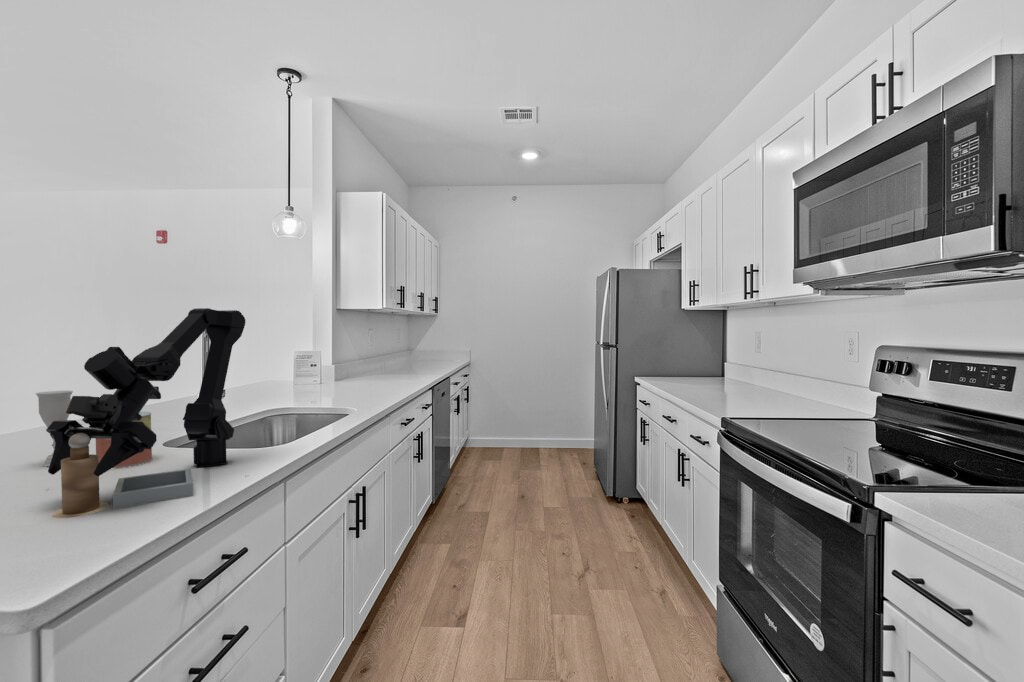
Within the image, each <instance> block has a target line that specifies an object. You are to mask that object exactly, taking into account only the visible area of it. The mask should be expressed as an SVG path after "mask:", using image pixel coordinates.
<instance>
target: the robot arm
mask: <svg viewBox="0 0 1024 682" xmlns="http://www.w3.org/2000/svg"><path fill="white" fill-rule="evenodd" d="M245 326H246V318H245V316H244V314H242V311H240V310H235V309H234V310H229V309H228V310H217V309H212V308H207V307H205V308H201V307H199V308H193V309H191V310H189V311H188V313H187V316H186V317H185V318H184V319H183V320H182V321H181V322H179V323H178V324H177V325H176V326H175V328H174V329H173V330H171V332H169V334H168V335H166V337H165V338H164V339H163V340H162V341H161V342H159V343H158V344H156V345H154V346H151V347H149V348H147V349H145V350H143V351H141V352H140V353H139V354H137V355H135V356H134V357H133V358H132V360H131V359H130V358H129V356H127V355H126V354H125V352H124V351H123V349H122V348H121V347H120V346H108V347H107V349H106V350H104V351H101V352H98V353H97V354H95V355H93V356H91V357H89V358H88V359H87V360H86V362H85V363H84V365H83V366H84V370H85V371H86V372H87V373H88V374H89V375H90V376H91V377H93V379H95V381H97V382H98V383H99V384H100V385H101V386H102V387H104V389H106V390H109V391H113V390H115V391H114V393H103V394H102V395H101V396H91V395H72V396H71V401H70V404H69V406H68V408H67V411H66V413H68V414H69V415H76V416H79V417H82V419H81V421H82V422H84V423H85V424H88V427H84V426H83V425H82V424H81V423H79V422H78V421H77V420H75V419H74V420H73V419H67V420H57V421H53V422H52V423H51V425H50V426H49V427H48V428H45V429H46V430H45V431H46V432H47V433H48V434H49V436H50V437H51V439H52V438H54V440H55V450H54V449H53V451H54V453H53V452H52V453H53V457H52V460H51V463H50V466H49V467H48V470H47V472H48V474H50V475H56V474H57V473H58V472H59V471H61V460H62V459H65V458H68V457H70V448H71V447H70V446H69V439H70V437H71V436H73V435H74V434H77V433H85V434H87V435H88V436H89V437H90V441H92V439H96V438H99V439H111V445H110V447H109V448H108V450H107V451H106V453H105V455H104V456H103V458H102V459H101V461H100V462H99V464H98V465H97V467H96V469H95V471H94V475H96V476H99V477H100V476H101V475H103V474H105V473H107V472H108V471H110V470H112V469H111V468H113V467H115V466H116V465H118V464H120V463H121V462H123V461H125V460H126V459H128V458H130V457H132V456H134V455H135V454H137V453H139V452H143V451H144V449H151V448H153V447H154V446H155V444H156V442H157V434H156V433H155V432H154V431H153V430H152V428H151V429H150V428H149V427H148V426H147V425H145V424H144V423H143V422H133V421H140V419H141V418H142V416H141V415H140V414H139V412H142V410H143V408H144V407H145V406H146V405H147V403H148V401H149V400H160V399H162V395H161V392H160V390H159V389H160V388H159V386H157V385H155V386H154V385H153V384H152V382H168V381H170V380H171V379H173V377H174V376H175V374H176V372H177V371H178V369H179V368H180V367H181V359H182V358H181V357H183V355H184V354H185V353H186V351H187V350H189V348H190V347H191V346H192V345H193V344H194V343H195V341H197V339H199V338H200V336H201V335H202V334H203V333H204V332H206V334H207V336H208V339H209V342H210V344H209V348H208V353H207V357H206V360H205V361H206V362H205V367H204V371H203V375H202V381H201V384H200V388H199V393H198V394H199V395H198V397H197V398H196V400H194V402H188V403H187V404H186V406H185V413H184V416H183V418H182V421H184V422H183V428H184V430H185V433H186V435H187V439H188V440H189V441H195V445H193V448H192V449H193V464H194V465H195V466H196V469H197V468H206V467H207V468H208V467H213V466H214V465H215V466H220V465H219V464H222V465H227V464H228V460H227V441H228V440H231V438H233V436H234V432H235V428H234V427H233V426H232V424H230V423H229V422H228V420H227V419H226V418H227V417H226V416H227V410H226V408H225V405H224V403H223V399H222V398H223V393H224V388H225V384H226V381H227V380H226V379H227V373H228V369H229V364H230V360H231V356H232V355H231V354H232V351H233V350H232V349H233V346H234V344H235V343H236V342H237V341H238V340H239V339H240V338H241V337H242V336H243V332H244V329H245ZM226 463H227V464H226Z"/></svg>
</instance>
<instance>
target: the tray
mask: <svg viewBox="0 0 1024 682" xmlns="http://www.w3.org/2000/svg"><path fill="white" fill-rule="evenodd" d="M193 487H194V483H193V477H192V470H191V468H186V469H185V468H184V469H179V470H178V469H177V470H170V471H165V472H164V471H162V472H156V473H148V474H142V475H134V476H125V477H118V479H117V483H116V485H115V488H114V491H113V494H112V504H113V505H112V507H113V510H114V509H119V508H125V507H126V508H127V507H132V506H138V505H145V504H149V503H150V504H151V503H157V502H161V501H162V502H164V501H168V500H169V501H170V500H174V499H181V498H186V497H187V498H189V497H193V496H194V490H193V489H194V488H193Z"/></svg>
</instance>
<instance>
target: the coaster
mask: <svg viewBox="0 0 1024 682" xmlns="http://www.w3.org/2000/svg"><path fill="white" fill-rule="evenodd" d="M108 507H110V503H108V502H106V501H100V507H99V508H97V509H95V510H93V511H89V512H86V513H81V514H74V515H65V514H62V508H60V509H58V510H55V511H54V512H53V513H52V514H51V517H52V518H57V519H69V518H77V517H82V516H83V517H84V516H87V515H92V514H95V513H98V512H102V511H103V510H106V509H107V508H108Z"/></svg>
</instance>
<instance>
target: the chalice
mask: <svg viewBox="0 0 1024 682" xmlns="http://www.w3.org/2000/svg"><path fill="white" fill-rule="evenodd" d="M73 392H74V391H73V390H52V391H51V390H50V391H40V392H35V395H36V396H37V398H38V414H39V416H40V418H41V420H42V422H43V423H44V424H45V426H46V427H47V428H48V427H49V426H50V425H51V423H52V422H53V421H57V420H69V417H70V414H68V413H66V411H67V408H68V406H69V404H70V401H71V399H72V396H71V395H72V394H73ZM47 428H46V429H47ZM51 439H52V440H53V442H52V444H51V447H52V448H53V452H52V454H50V455H48V456H47V457H46V459H45V461H44V463H43V465H42V467H43V466H50V463H51V460H52V457H53V453H54V450H55V440H54V438H52V437H51Z"/></svg>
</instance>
